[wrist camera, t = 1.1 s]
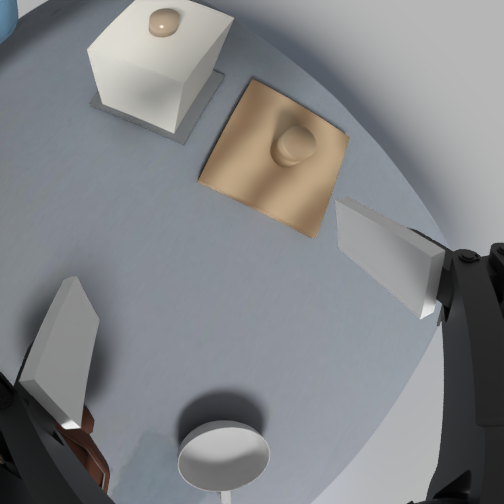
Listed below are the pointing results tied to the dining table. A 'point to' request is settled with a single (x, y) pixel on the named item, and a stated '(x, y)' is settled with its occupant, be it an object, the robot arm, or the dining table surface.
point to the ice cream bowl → (87, 449)
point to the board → (266, 170)
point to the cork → (293, 146)
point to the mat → (187, 121)
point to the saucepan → (222, 457)
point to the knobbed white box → (158, 58)
